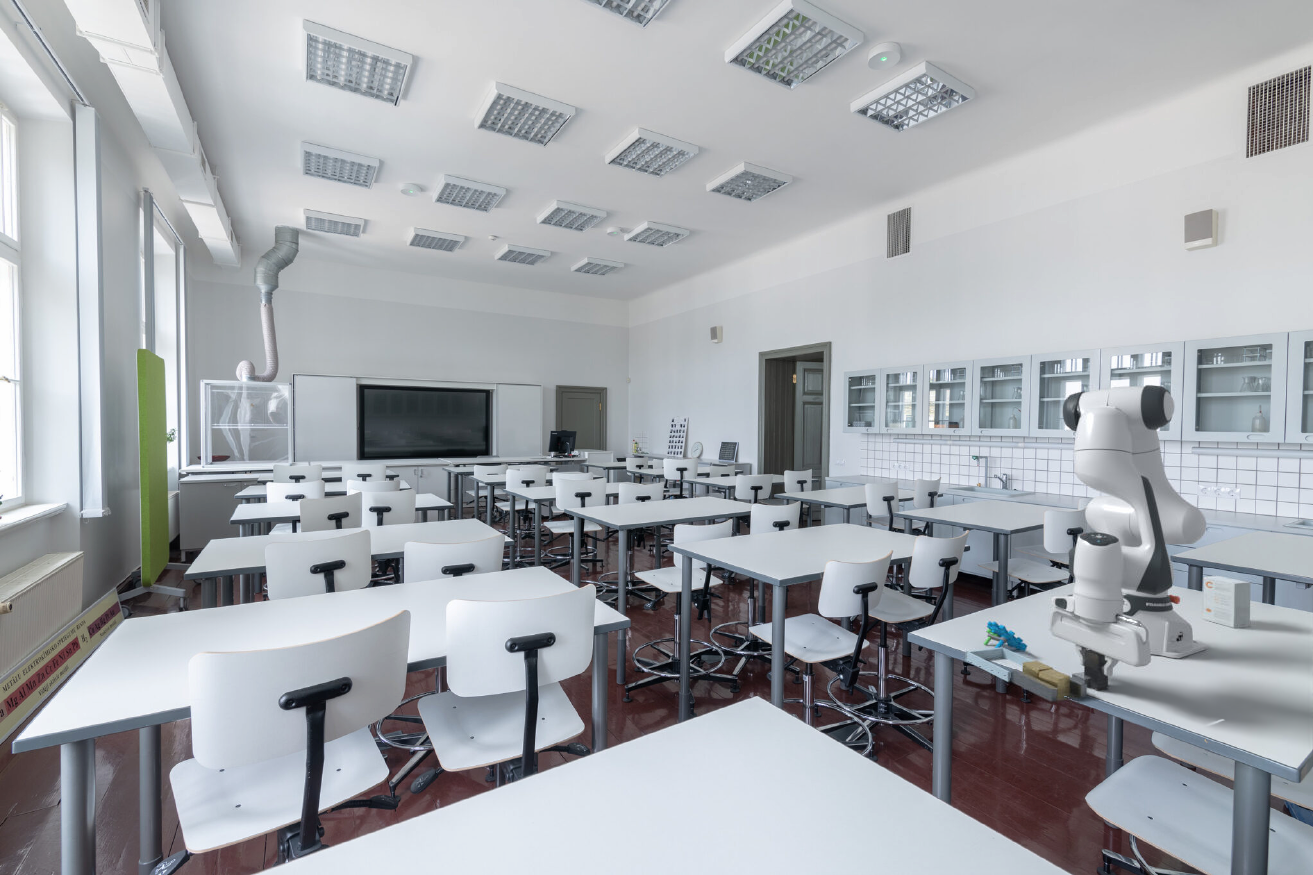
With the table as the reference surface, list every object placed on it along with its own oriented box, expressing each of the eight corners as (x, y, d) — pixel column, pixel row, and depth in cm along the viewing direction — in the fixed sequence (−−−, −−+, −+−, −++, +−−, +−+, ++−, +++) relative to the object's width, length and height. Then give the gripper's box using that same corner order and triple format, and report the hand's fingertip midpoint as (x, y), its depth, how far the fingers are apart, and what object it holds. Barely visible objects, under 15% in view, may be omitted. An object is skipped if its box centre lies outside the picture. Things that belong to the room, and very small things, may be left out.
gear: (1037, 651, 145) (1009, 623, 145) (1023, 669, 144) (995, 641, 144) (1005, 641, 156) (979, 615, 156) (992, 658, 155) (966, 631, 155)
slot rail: (1044, 677, 134) (1044, 665, 133) (1086, 697, 124) (1086, 684, 124) (1010, 682, 131) (1010, 669, 131) (1051, 702, 121) (1051, 689, 121)
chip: (1050, 686, 128) (1051, 668, 128) (1069, 694, 125) (1070, 676, 125) (1038, 689, 127) (1039, 671, 127) (1057, 697, 123) (1057, 679, 123)
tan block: (1036, 678, 133) (1036, 660, 133) (1052, 685, 129) (1052, 667, 129) (1022, 679, 132) (1022, 662, 132) (1038, 687, 128) (1038, 669, 128)
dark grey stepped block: (1089, 680, 132) (1089, 645, 132) (1111, 689, 128) (1112, 653, 127) (1071, 682, 131) (1072, 647, 131) (1093, 692, 126) (1094, 655, 126)
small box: (1250, 627, 169) (1251, 582, 169) (1233, 628, 168) (1235, 583, 167) (1218, 618, 177) (1219, 575, 177) (1201, 619, 175) (1203, 576, 175)
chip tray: (1002, 656, 146) (1002, 647, 146) (1047, 677, 134) (1047, 667, 134) (965, 661, 143) (965, 651, 143) (1007, 682, 131) (1007, 672, 131)
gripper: (1159, 622, 119) (1158, 689, 119) (1065, 594, 139) (1064, 651, 139) (1136, 625, 117) (1134, 693, 117) (1044, 596, 137) (1043, 654, 137)
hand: (1096, 670), depth 128 cm, fingers closed on dark grey stepped block, 3 cm apart
